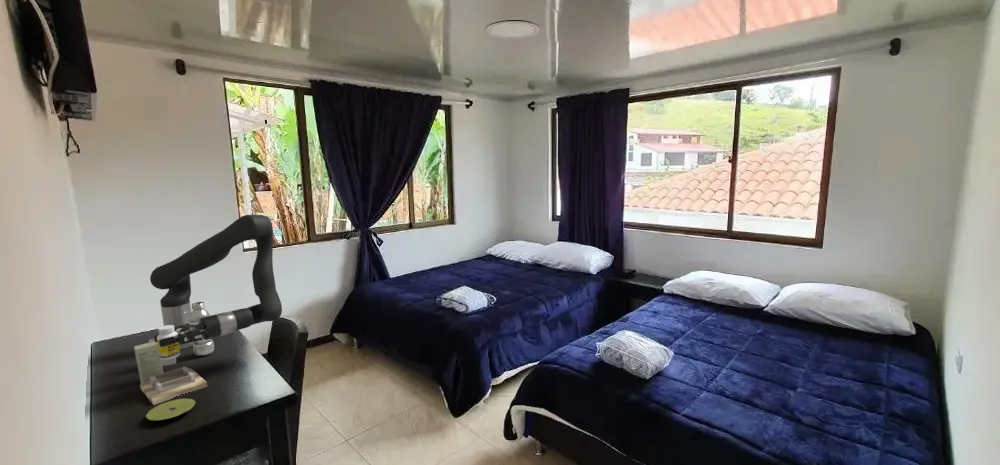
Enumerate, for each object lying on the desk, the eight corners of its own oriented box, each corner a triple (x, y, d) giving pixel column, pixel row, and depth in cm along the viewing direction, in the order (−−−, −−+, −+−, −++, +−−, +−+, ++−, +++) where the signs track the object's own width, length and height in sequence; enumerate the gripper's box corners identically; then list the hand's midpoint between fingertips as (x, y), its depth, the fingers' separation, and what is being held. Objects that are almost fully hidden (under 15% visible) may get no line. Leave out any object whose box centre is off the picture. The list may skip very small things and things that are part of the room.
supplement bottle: (169, 360, 137) (165, 330, 135) (155, 359, 138) (150, 330, 136) (185, 353, 142) (180, 324, 140) (171, 352, 143) (166, 323, 141)
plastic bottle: (215, 354, 166) (208, 303, 163) (193, 359, 162) (186, 307, 159) (214, 349, 171) (208, 299, 168) (193, 353, 167) (186, 302, 164)
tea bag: (175, 363, 159) (171, 337, 158) (152, 368, 155) (148, 341, 154) (176, 360, 162) (172, 334, 161) (153, 364, 159) (149, 338, 157)
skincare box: (162, 374, 151) (157, 340, 149) (164, 378, 148) (159, 343, 146) (138, 380, 147) (133, 345, 145) (140, 385, 144) (134, 349, 142)
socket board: (140, 388, 141) (138, 376, 140) (191, 372, 152) (190, 361, 151) (153, 405, 131) (151, 392, 130) (207, 386, 141) (205, 374, 141)
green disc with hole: (184, 400, 133) (183, 394, 133) (204, 410, 127) (203, 404, 127) (139, 419, 123) (138, 413, 123) (158, 430, 118) (157, 424, 117)
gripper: (209, 310, 154) (149, 325, 141) (224, 318, 144) (161, 335, 132) (212, 330, 155) (152, 347, 142) (227, 340, 146) (165, 358, 133)
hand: (157, 341), depth 137 cm, fingers closed on supplement bottle, 5 cm apart
